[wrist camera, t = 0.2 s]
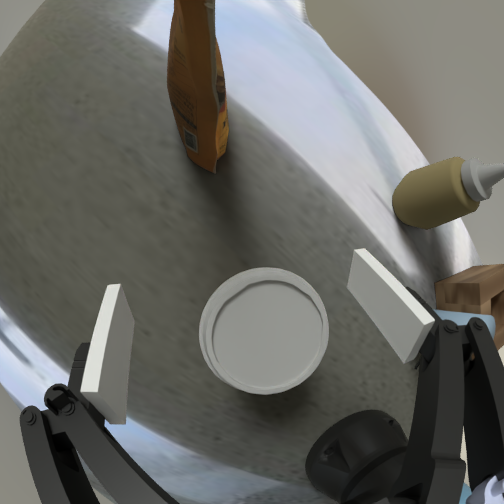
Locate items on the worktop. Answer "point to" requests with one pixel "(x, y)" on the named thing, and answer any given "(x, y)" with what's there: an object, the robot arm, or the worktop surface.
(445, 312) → the dowel
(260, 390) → the disposable coffee cup
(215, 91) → the pancake mix bag
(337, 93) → the worktop surface
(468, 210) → the squeeze bottle
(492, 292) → the socket block
